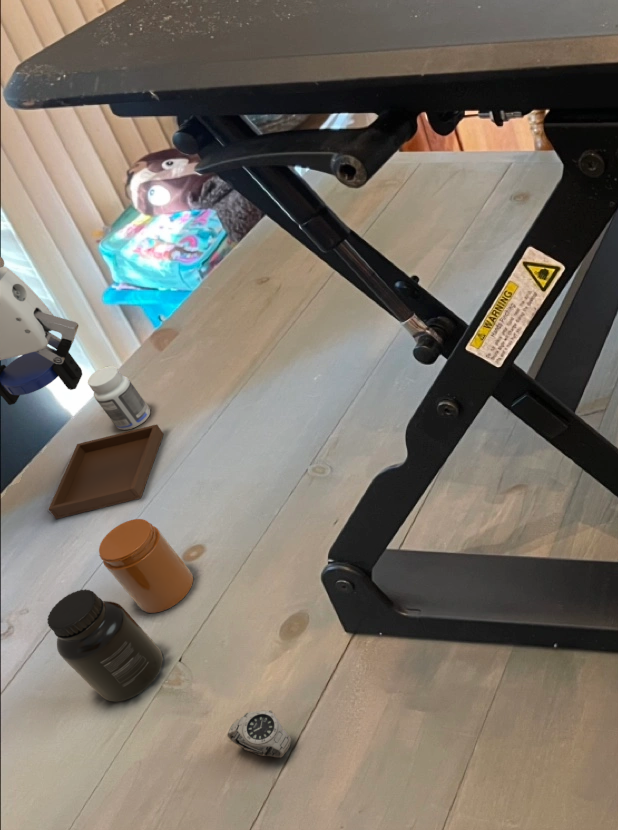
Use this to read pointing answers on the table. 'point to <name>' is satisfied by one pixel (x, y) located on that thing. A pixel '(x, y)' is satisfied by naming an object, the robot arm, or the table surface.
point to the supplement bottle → (104, 645)
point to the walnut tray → (107, 471)
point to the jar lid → (27, 374)
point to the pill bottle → (118, 398)
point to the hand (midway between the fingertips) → (46, 388)
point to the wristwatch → (260, 734)
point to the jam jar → (145, 565)
